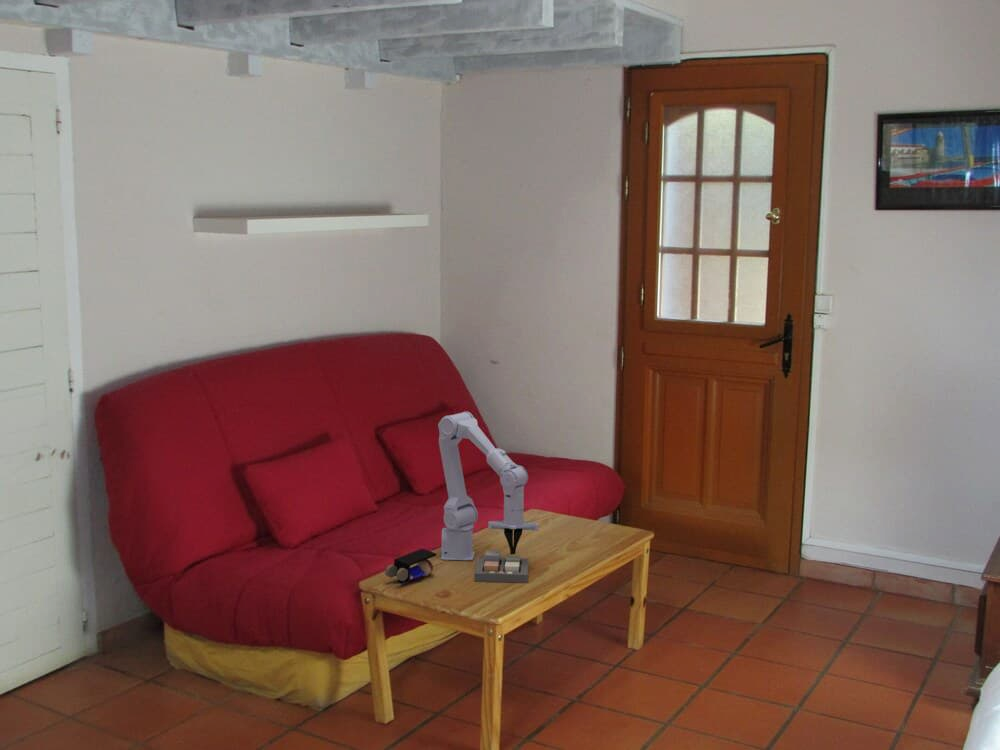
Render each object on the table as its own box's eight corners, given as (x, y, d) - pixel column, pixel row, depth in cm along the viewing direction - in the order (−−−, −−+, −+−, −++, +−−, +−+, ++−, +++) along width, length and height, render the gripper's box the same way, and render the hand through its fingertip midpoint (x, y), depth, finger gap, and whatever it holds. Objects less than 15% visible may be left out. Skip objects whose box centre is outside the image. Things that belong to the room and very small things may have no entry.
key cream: (504, 573, 329) (504, 566, 328) (505, 568, 333) (505, 561, 332) (518, 573, 328) (518, 566, 328) (519, 568, 332) (519, 562, 332)
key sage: (505, 569, 335) (505, 559, 334) (506, 565, 339) (506, 555, 338) (519, 570, 335) (519, 559, 334) (520, 565, 338) (520, 555, 338)
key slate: (485, 565, 335) (485, 555, 334) (486, 561, 339) (486, 550, 338) (499, 566, 335) (499, 555, 334) (499, 561, 339) (499, 551, 338)
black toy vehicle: (402, 593, 321) (439, 575, 332) (399, 568, 319) (437, 550, 330) (385, 588, 325) (422, 569, 336) (383, 563, 323) (420, 545, 334)
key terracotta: (483, 572, 329) (483, 565, 329) (484, 567, 333) (484, 561, 333) (497, 572, 329) (497, 566, 328) (498, 568, 333) (498, 561, 332)
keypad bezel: (474, 581, 327) (474, 572, 327) (478, 564, 342) (478, 556, 341) (527, 583, 326) (527, 574, 326) (528, 565, 341) (528, 557, 340)
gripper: (487, 511, 330) (487, 556, 332) (538, 512, 329) (537, 558, 332) (489, 504, 337) (488, 549, 339) (538, 506, 336) (537, 550, 339)
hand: (512, 553), depth 336 cm, fingers closed
